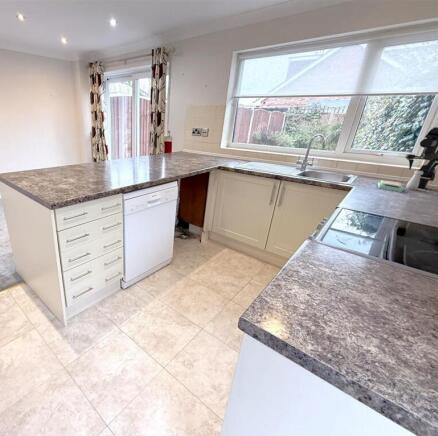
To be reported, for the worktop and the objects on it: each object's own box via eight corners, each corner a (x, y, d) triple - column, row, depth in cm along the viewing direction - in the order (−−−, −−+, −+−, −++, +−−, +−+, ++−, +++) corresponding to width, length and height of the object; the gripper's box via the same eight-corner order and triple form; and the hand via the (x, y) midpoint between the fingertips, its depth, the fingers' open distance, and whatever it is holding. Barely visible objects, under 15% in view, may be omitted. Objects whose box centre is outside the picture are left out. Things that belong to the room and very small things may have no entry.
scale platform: (380, 181, 180) (381, 180, 179) (399, 184, 174) (399, 182, 174) (381, 184, 172) (382, 183, 171) (401, 187, 166) (401, 186, 166)
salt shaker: (418, 190, 170) (428, 172, 165) (409, 189, 171) (418, 171, 165) (412, 188, 175) (421, 170, 170) (402, 187, 176) (411, 169, 171)
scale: (377, 184, 182) (379, 180, 180) (399, 187, 175) (401, 183, 174) (378, 188, 171) (380, 184, 170) (401, 192, 165) (404, 187, 163)
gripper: (412, 146, 161) (401, 170, 167) (454, 150, 150) (441, 175, 156) (410, 145, 169) (399, 168, 175) (450, 149, 158) (437, 173, 164)
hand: (418, 171), depth 167 cm, fingers open, 9 cm apart
